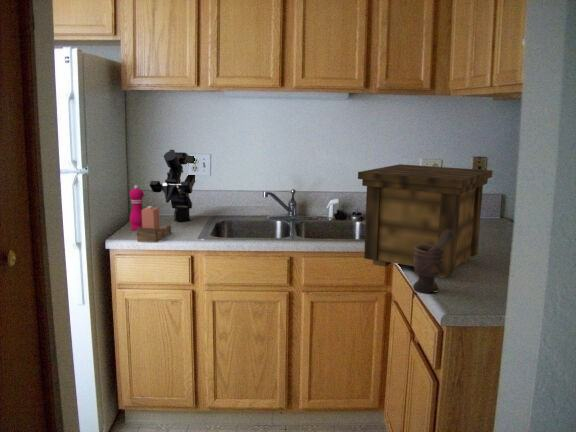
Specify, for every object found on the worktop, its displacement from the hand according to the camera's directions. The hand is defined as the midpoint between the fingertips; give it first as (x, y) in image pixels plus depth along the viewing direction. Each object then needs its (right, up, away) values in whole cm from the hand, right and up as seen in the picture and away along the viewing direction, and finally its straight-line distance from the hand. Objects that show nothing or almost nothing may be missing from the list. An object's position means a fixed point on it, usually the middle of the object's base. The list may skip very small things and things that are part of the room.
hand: (166, 202), depth 233 cm
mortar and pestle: (+97, -29, -77) cm, 127 cm away
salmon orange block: (-3, -13, -17) cm, 21 cm away
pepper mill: (-13, -12, +2) cm, 18 cm away
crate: (+102, -23, -47) cm, 115 cm away
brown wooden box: (-2, -15, -13) cm, 20 cm away
